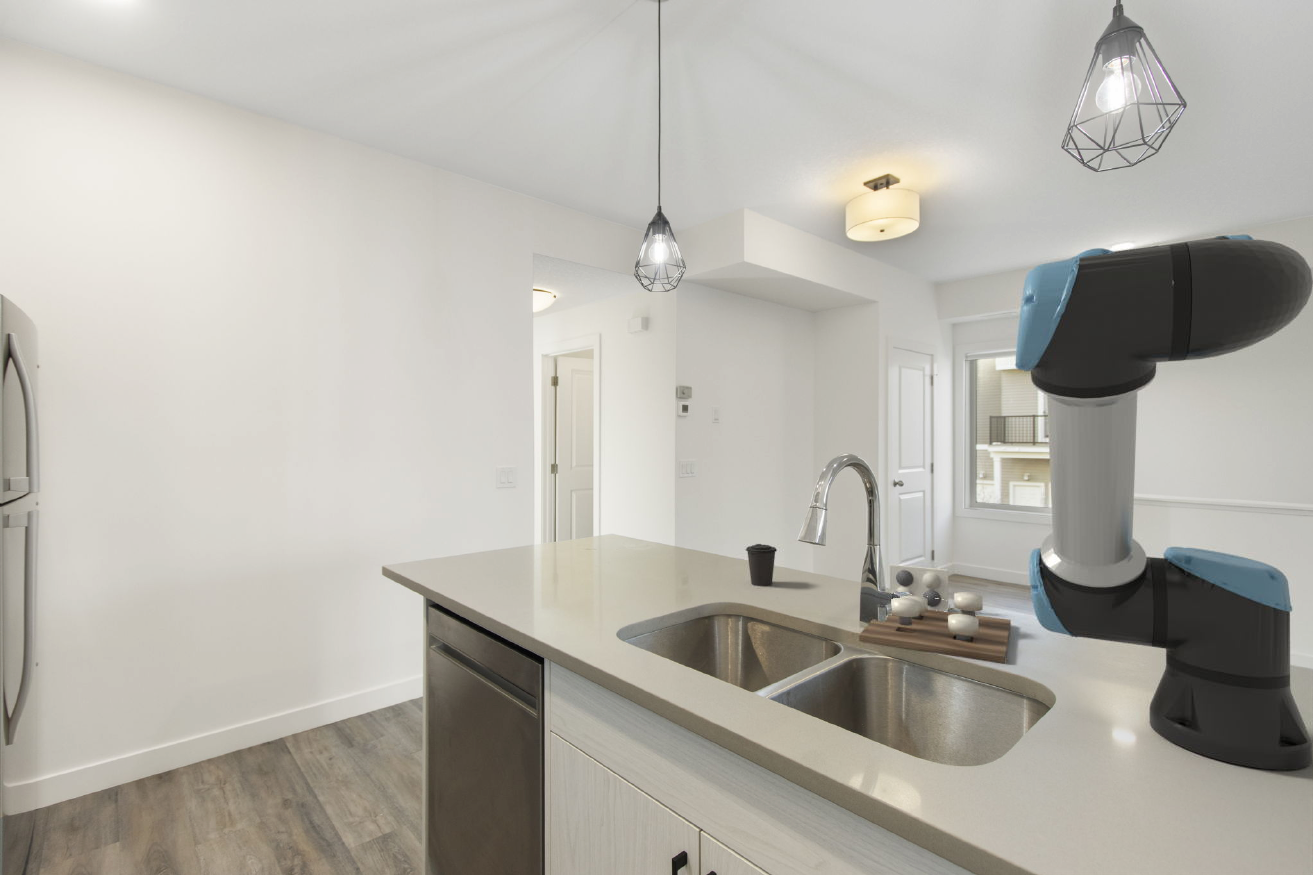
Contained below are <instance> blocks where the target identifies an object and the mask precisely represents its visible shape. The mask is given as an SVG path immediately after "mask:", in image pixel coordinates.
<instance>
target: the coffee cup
mask: <svg viewBox="0 0 1313 875" xmlns="http://www.w3.org/2000/svg"><path fill="white" fill-rule="evenodd" d="M745 551H746V552H747V559H748V566H749V567H748V568H749V574H750V575H749V576H750V583H751V585H752V586H758V587H770V586H772V585H773V578H774V569H775V559H776V552H777V548H776V547H775V546H771V545H770V544H761V543H755V544H753V545H749V546H747V547H746V549H745Z"/></svg>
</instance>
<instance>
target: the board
mask: <svg viewBox="0 0 1313 875" xmlns="http://www.w3.org/2000/svg"><path fill="white" fill-rule="evenodd" d="M951 614H961V613H960V612H959V613H958V612H952V611H948V612H944V611H936V610H928V612H927V613H923V614H921V620H918V619H912V625H910V626H905V625H900V624H899V616H897V615H894V614H892V615H888V617H887V620H886V621H885V622H879V621H877V620H876V619H873V618H872V620H871V621H870V622H869V623H868V624H867V625H866V626H865V627H864V628H863V629H862V631H860V633H859V635H858V637H859V642H864V643H870V644H876V645H883V646H888V647H889V646H890V647H895V648H903V649H909V650H916V651H922V652H928V653H935V654H941V655H947V656H954V657H961V658H967V659H973V660H978V661H979V660H980V661H985V662H992V663H999V664H1003V665H1005V664H1006V660H1007V653H1008V652H1007V651H1008V646H1009V639H1010V632H1011V627H1012V626H1011V625H1012V623H1011V619H1008V618H1000V617H991V616H985V615H984V616H983V615H977V614H975V617H976V618H978V634H977V635H971V642H967V641H960V640H956V634H955V633H952V632H950V631H949V630H948V616H949V615H951Z"/></svg>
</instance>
